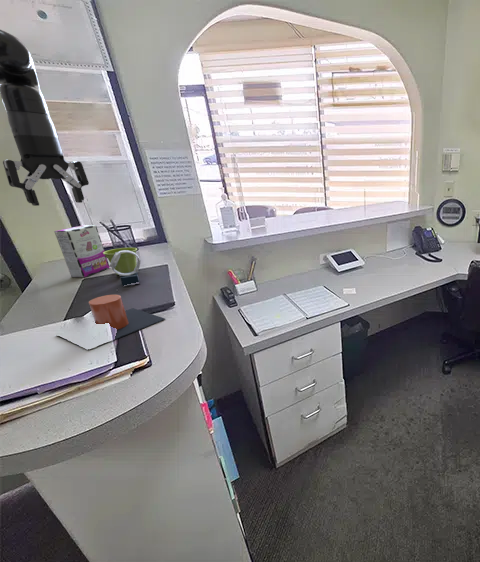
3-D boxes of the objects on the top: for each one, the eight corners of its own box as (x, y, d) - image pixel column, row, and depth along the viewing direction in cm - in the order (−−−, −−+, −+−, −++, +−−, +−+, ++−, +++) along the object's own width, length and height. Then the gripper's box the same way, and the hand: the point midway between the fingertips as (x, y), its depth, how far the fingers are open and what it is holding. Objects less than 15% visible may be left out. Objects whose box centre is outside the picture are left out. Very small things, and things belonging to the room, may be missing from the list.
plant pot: (104, 276, 108) (96, 252, 105) (132, 268, 117) (126, 246, 114) (121, 279, 105) (114, 255, 102) (149, 271, 113) (143, 248, 110)
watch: (115, 283, 102) (105, 251, 98) (145, 278, 106) (137, 247, 102) (115, 288, 97) (104, 255, 94) (146, 283, 102) (137, 251, 98)
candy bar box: (97, 267, 117) (83, 224, 112) (110, 268, 117) (97, 224, 111) (69, 277, 107) (52, 230, 101) (83, 277, 107) (67, 230, 101)
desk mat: (88, 351, 64) (87, 349, 64) (55, 335, 70) (55, 334, 70) (165, 319, 78) (165, 318, 78) (133, 309, 84) (133, 307, 83)
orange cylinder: (106, 334, 70) (96, 306, 68) (92, 328, 73) (83, 301, 70) (133, 323, 75) (126, 297, 73) (120, 318, 78) (112, 292, 75)
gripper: (66, 138, 82) (85, 201, 87) (-15, 132, 70) (13, 205, 75) (80, 137, 79) (99, 202, 84) (-3, 130, 67) (25, 207, 72)
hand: (58, 203), depth 80 cm, fingers open, 8 cm apart
